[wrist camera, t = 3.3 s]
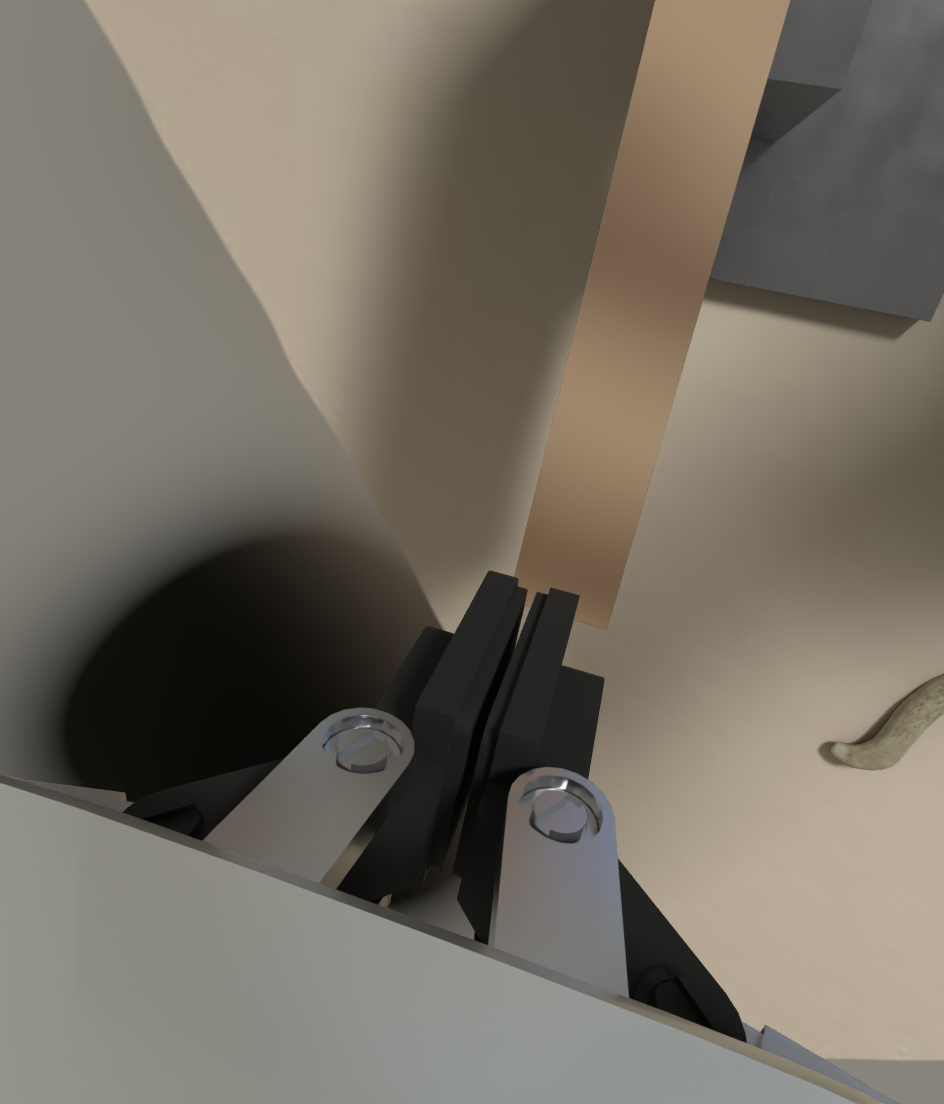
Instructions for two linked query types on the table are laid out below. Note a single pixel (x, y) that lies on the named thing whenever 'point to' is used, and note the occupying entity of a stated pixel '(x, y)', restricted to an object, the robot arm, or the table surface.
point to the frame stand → (846, 161)
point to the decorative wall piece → (896, 730)
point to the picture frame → (645, 289)
